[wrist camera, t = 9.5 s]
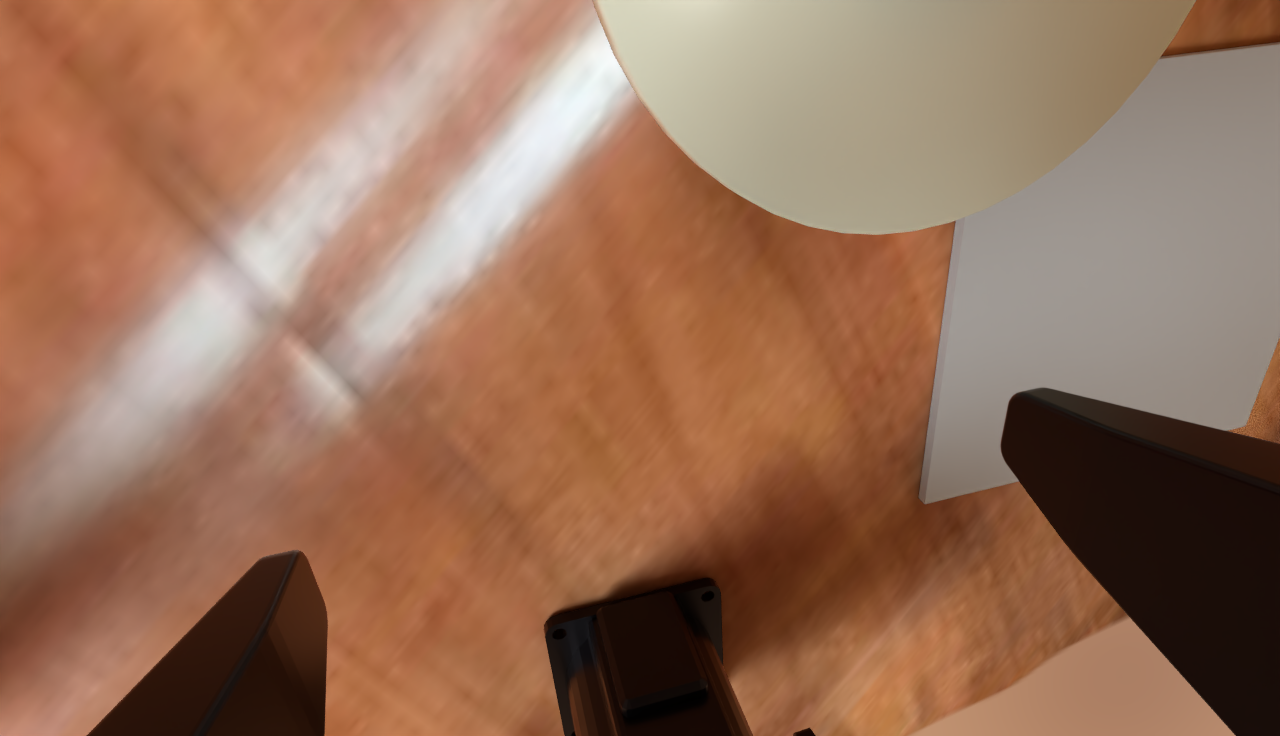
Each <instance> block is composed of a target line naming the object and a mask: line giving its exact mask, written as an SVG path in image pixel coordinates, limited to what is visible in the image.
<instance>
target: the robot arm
mask: <svg viewBox="0 0 1280 736" xmlns="http://www.w3.org/2000/svg"><path fill="white" fill-rule="evenodd" d="M1000 447H1001V453H1002V457H1003V459H1004V461H1005V463H1006V464H1007V466H1008V467H1009V468H1010V470H1011V471H1012V472H1013V474H1014V475H1015V476H1016V478H1017V479H1018V480H1019V482H1020V483H1021V484H1022V486H1023V487H1024V488H1025V490H1026V491H1027V493H1028V494H1029V495H1030V497H1031V498H1032V499H1033V501H1034V502H1035V503H1036V505H1037V506H1038V507H1039V509H1040V510H1041V511H1042V513H1043V514H1044V516H1045V517H1046V518H1047V520H1048V521H1049V522H1050V524H1051V525H1052V526H1053V528H1054V529H1055V530H1056V532H1057V533H1058V534H1059V536H1060V537H1061V538H1062V540H1063V541H1064V542H1065V544H1066V545H1067V546H1068V547H1069V549H1070V550H1071V551H1072V553H1073V554H1074V555H1075V556H1076V557H1077V558H1078V560H1079V561H1080V562H1081V563H1082V564H1083V565H1084V567H1085V568H1086V569H1087V570H1088V571H1089V572H1090V573H1091V574H1092V576H1093V577H1094V578H1095V579H1096V580H1097V581H1098V582H1099V583H1100V585H1101V586H1102V587H1103V588H1104V589H1105V590H1106V591H1107V592H1108V593H1109V595H1110V596H1111V597H1112V598H1113V599H1114V600H1115V601H1116V602H1117V604H1118V605H1119V606H1120V607H1121V608H1122V609H1123V610H1124V611H1125V612H1126V614H1127V615H1128V616H1129V617H1130V618H1131V619H1132V620H1133V621H1134V622H1135V624H1136V625H1137V626H1138V627H1139V628H1140V629H1141V630H1142V631H1143V632H1144V634H1145V635H1146V636H1147V637H1148V638H1149V639H1150V640H1151V641H1152V643H1153V644H1154V645H1155V646H1156V647H1157V648H1158V649H1159V650H1160V652H1161V653H1162V654H1163V655H1164V656H1165V657H1166V658H1167V659H1168V660H1169V662H1170V663H1171V664H1172V665H1173V666H1174V667H1175V668H1176V669H1177V671H1179V673H1180V674H1181V675H1182V676H1183V677H1184V678H1185V679H1186V681H1187V682H1188V683H1189V684H1190V685H1191V686H1192V687H1193V688H1194V690H1195V691H1196V692H1197V693H1198V694H1199V695H1200V696H1201V697H1202V699H1203V700H1204V701H1205V702H1206V703H1207V704H1208V705H1209V706H1210V707H1211V709H1213V711H1214V712H1215V713H1216V714H1217V715H1218V716H1219V717H1220V719H1221V720H1222V721H1223V722H1224V723H1225V724H1226V725H1227V726H1228V728H1229V729H1230V730H1231V731H1232V732H1233V733H1234V734H1235V735H1236V736H1280V444H1278V443H1274V442H1270V441H1266V440H1262V439H1258V438H1254V437H1249V436H1245V435H1241V434H1237V433H1233V432H1229V431H1225V430H1220V429H1216V428H1212V427H1208V426H1204V425H1200V424H1196V423H1191V422H1187V421H1183V420H1179V419H1175V418H1171V417H1166V416H1162V415H1158V414H1154V413H1150V412H1146V411H1142V410H1137V409H1133V408H1129V407H1125V406H1121V405H1117V404H1113V403H1108V402H1104V401H1100V400H1096V399H1092V398H1088V397H1084V396H1079V395H1075V394H1071V393H1067V392H1063V391H1059V390H1055V389H1050V388H1045V387H1042V388H1035V389H1030V390H1026V391H1021V392H1018V393H1016V394H1014V395H1013V396H1012V397H1011V399H1010V400H1009V403H1008V407H1007V412H1006V417H1005V422H1004V427H1003V432H1002V438H1001V444H1000ZM707 591H709V592H707ZM705 592H707V593H705ZM704 593H705V594H704ZM327 629H328V621H327V611H326V606H325V603H324V600H323V597H322V595H321V592H320V590H319V587H318V585H317V582H316V579H315V577H314V574H313V572H312V569H311V567H310V564H309V562H308V559H307V557H306V556H305V555H304V553H303V552H301V551H299V550H292V551H288V552H283V553H278V554H274V555H269V556H265V557H263V558H261V559H259V560H258V561H257V562H256V563H255V564H254V565H253V566H252V567H251V568H250V569H249V570H248V571H247V572H246V573H245V574H244V575H243V576H242V577H241V578H240V579H239V580H238V581H237V582H236V583H235V584H234V585H233V586H232V587H231V589H230V590H229V591H228V592H227V593H226V594H225V595H224V596H223V597H222V598H221V599H220V600H219V601H218V602H217V603H216V604H215V605H214V606H213V607H212V608H211V609H210V610H209V611H208V612H207V613H206V614H205V615H204V616H203V617H202V618H201V619H200V620H199V621H198V622H197V623H196V624H195V625H194V626H193V627H192V628H191V629H190V630H189V631H188V633H187V634H186V635H185V636H184V637H183V638H182V639H181V640H180V641H179V642H178V643H177V644H176V645H175V646H174V647H173V648H172V649H171V650H170V651H169V652H168V653H167V654H166V655H165V656H164V657H163V658H162V659H161V660H160V661H159V662H158V663H157V664H156V665H155V666H154V667H153V668H152V669H151V670H150V671H149V672H148V673H147V674H146V675H145V676H144V678H143V679H142V680H141V681H140V682H139V683H138V684H137V685H136V686H135V687H134V688H133V689H132V690H131V691H130V692H129V693H128V694H127V695H126V696H125V697H124V698H123V699H122V700H121V701H120V702H119V703H118V704H117V705H116V706H115V707H114V708H113V709H112V710H111V711H110V712H109V713H108V714H107V715H106V716H105V717H104V718H103V719H102V720H101V722H100V723H99V724H98V725H97V726H96V727H95V728H94V729H93V730H92V731H91V732H90V733H89V734H88V735H87V736H324V734H325V700H326V664H327ZM557 629H561V630H559V631H555V630H557ZM544 633H545V638H546V643H547V649H548V654H549V659H550V664H551V669H552V674H553V679H554V684H555V689H556V694H557V699H558V704H559V709H560V714H561V719H562V725H563V730H564V735H565V736H753V734H752V732H751V730H750V727H749V725H748V723H747V720H746V718H745V716H744V714H743V711H742V709H741V707H740V704H739V702H738V700H737V697H736V695H735V693H734V691H733V688H732V686H731V684H730V681H729V679H728V677H727V674H726V672H725V670H724V668H723V648H722V616H721V592H720V589H719V587H718V585H717V583H716V581H714V580H713V579H710V578H706V579H700V580H696V581H692V582H688V583H684V584H680V585H676V586H672V587H668V588H664V589H660V590H656V591H652V592H648V593H644V594H640V595H636V596H632V597H628V598H624V599H620V600H616V601H612V602H608V603H604V604H600V605H596V606H592V607H588V608H584V609H580V610H576V611H572V612H568V613H564V614H560V615H556V616H554V617H551V618H550V619H548V620H547V621H546V623H545V624H544ZM793 736H815V734H814V733H813V731H812V730H811V729H810V728H807V729H804V730H801V731H798V732H795V733H794V734H793Z"/></svg>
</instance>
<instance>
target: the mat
mask: <svg viewBox="0 0 1280 736" xmlns="http://www.w3.org/2000/svg"><path fill="white" fill-rule="evenodd" d="M1279 338H1280V42H1276V43H1268V44H1260V45H1252V46H1243V47H1235V48H1227V49H1219V50H1211V51H1203V52H1195V53H1186V54H1178V55H1170V56H1162V57H1160V58H1159V60H1158V61H1157V63H1156V64H1155V65H1154V67H1153V68H1152V70H1151V71H1150V72H1149V74H1148V75H1147V77H1146V78H1145V79H1144V80H1143V81H1142V83H1141V84H1140V85H1139V86H1138V87H1137V88H1136V90H1135V91H1134V92H1133V93H1132V94H1131V96H1130V97H1129V98H1128V99H1127V100H1126V101H1125V103H1124V104H1123V105H1122V106H1121V107H1120V109H1119V110H1118V111H1117V112H1116V113H1115V114H1114V115H1113V116H1112V117H1111V118H1110V119H1109V120H1108V121H1107V122H1106V123H1105V124H1104V125H1103V126H1102V127H1101V128H1100V129H1099V130H1098V131H1097V132H1096V133H1095V134H1094V135H1093V136H1092V137H1091V138H1090V139H1089V140H1088V141H1087V142H1086V143H1085V144H1083V145H1082V146H1081V147H1080V148H1078V149H1077V150H1076V151H1075V152H1074V153H1072V154H1071V155H1070V156H1069V157H1067V158H1066V159H1065V160H1064V161H1063V162H1061V163H1060V164H1059V165H1058V166H1056V167H1055V168H1054V169H1053V170H1051V171H1050V172H1048V173H1047V174H1045V175H1044V176H1042V177H1041V178H1039V179H1038V180H1036V181H1035V182H1033V183H1032V184H1030V185H1029V186H1027V187H1026V188H1024V189H1023V190H1021V191H1020V192H1018V193H1016V194H1014V195H1012V196H1010V197H1008V198H1006V199H1004V200H1002V201H1000V202H998V203H996V204H994V205H993V206H991V207H989V208H987V209H985V210H982V211H979V212H977V213H974V214H971V215H969V216H966V217H964V218H961V219H958V220H956V224H955V231H954V238H953V246H952V253H951V261H950V268H949V275H948V283H947V290H946V298H945V305H944V313H943V320H942V327H941V335H940V342H939V350H938V357H937V364H936V372H935V379H934V387H933V394H932V401H931V409H930V416H929V424H928V431H927V438H926V446H925V453H924V461H923V468H922V475H921V483H920V490H919V499H920V500H921V501H922V502H923V503H924V504H928V503H932V502H936V501H941V500H945V499H949V498H953V497H957V496H961V495H965V494H969V493H973V492H977V491H981V490H986V489H990V488H994V487H998V486H1002V485H1006V484H1010V483H1014V482H1018V481H1019V480H1018V479H1017V478H1016V476H1015V475H1014V474H1013V472H1012V471H1011V470H1010V468H1009V467H1008V466H1007V464H1006V463H1005V461H1004V459H1003V457H1002V453H1001V447H1000V444H1001V438H1002V432H1003V427H1004V422H1005V417H1006V412H1007V407H1008V403H1009V400H1010V399H1011V397H1012V396H1013V395H1014V394H1016V393H1018V392H1021V391H1026V390H1030V389H1035V388H1042V387H1045V388H1050V389H1055V390H1059V391H1063V392H1067V393H1071V394H1075V395H1079V396H1084V397H1088V398H1092V399H1096V400H1100V401H1104V402H1108V403H1113V404H1117V405H1121V406H1125V407H1129V408H1133V409H1137V410H1142V411H1146V412H1150V413H1154V414H1158V415H1162V416H1166V417H1171V418H1175V419H1179V420H1183V421H1187V422H1191V423H1196V424H1200V425H1204V426H1208V427H1212V428H1216V429H1220V430H1225V431H1227V430H1231V429H1236V428H1240V427H1244V426H1246V424H1247V421H1248V418H1249V416H1250V413H1251V411H1252V408H1253V405H1254V403H1255V400H1256V397H1257V395H1258V392H1259V390H1260V387H1261V384H1262V382H1263V379H1264V377H1265V374H1266V371H1267V369H1268V366H1269V364H1270V361H1271V358H1272V356H1273V353H1274V351H1275V348H1276V345H1277V343H1278V340H1279Z"/></svg>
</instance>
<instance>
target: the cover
mask: <svg viewBox="0 0 1280 736" xmlns="http://www.w3.org/2000/svg"><path fill="white" fill-rule="evenodd" d="M1195 2H1196V0H593V4H594V7H595V9H596V12H597V14H598V17H599V19H600V22H601V24H602V27H603V29H604V32H605V34H606V36H607V39H608V41H609V44H610V46H611V49H612V51H613V54H614V56H615V57H616V59H617V61H618V63H619V65H620V66H621V68H622V70H623V72H624V74H625V75H626V77H627V79H628V81H629V83H630V84H631V86H632V88H633V90H634V91H635V93H636V95H637V97H638V98H639V99H640V101H641V102H642V104H643V105H644V106H645V108H646V109H647V110H648V112H649V113H650V114H651V116H652V117H653V118H654V120H655V121H656V122H657V124H658V125H659V126H660V128H661V129H662V130H663V132H664V133H665V134H666V135H667V136H668V137H669V138H670V139H671V140H672V141H673V142H674V143H675V144H676V145H677V146H678V147H679V148H680V149H681V150H682V151H683V152H684V153H685V154H686V155H687V156H688V157H689V158H690V159H691V160H692V161H693V162H694V163H695V164H696V165H697V166H699V167H700V168H701V169H703V170H704V171H705V172H707V173H708V174H709V175H711V176H712V177H713V178H715V179H716V180H717V181H719V182H720V183H721V184H722V185H724V186H725V187H727V188H728V189H730V190H732V191H733V192H735V193H736V194H738V195H740V196H741V197H743V198H745V199H747V200H749V201H751V202H752V203H754V204H756V205H758V206H760V207H762V208H763V209H765V210H767V211H769V212H771V213H772V214H775V215H778V216H781V217H783V218H786V219H789V220H792V221H795V222H797V223H800V224H803V225H806V226H809V227H814V228H819V229H824V230H830V231H835V232H840V233H852V234H874V235H880V234H890V233H901V232H911V231H917V230H921V229H925V228H930V227H934V226H938V225H942V224H946V223H950V222H953V221H956V220H958V219H961V218H964V217H966V216H969V215H971V214H974V213H977V212H979V211H982V210H985V209H987V208H989V207H991V206H993V205H994V204H996V203H998V202H1000V201H1002V200H1004V199H1006V198H1008V197H1010V196H1012V195H1014V194H1016V193H1018V192H1020V191H1021V190H1023V189H1024V188H1026V187H1027V186H1029V185H1030V184H1032V183H1033V182H1035V181H1036V180H1038V179H1039V178H1041V177H1042V176H1044V175H1045V174H1047V173H1048V172H1050V171H1051V170H1053V169H1054V168H1055V167H1056V166H1058V165H1059V164H1060V163H1061V162H1063V161H1064V160H1065V159H1066V158H1067V157H1069V156H1070V155H1071V154H1072V153H1074V152H1075V151H1076V150H1077V149H1078V148H1080V147H1081V146H1082V145H1083V144H1085V143H1086V142H1087V141H1088V140H1089V139H1090V138H1091V137H1092V136H1093V135H1094V134H1095V133H1096V132H1097V131H1098V130H1099V129H1100V128H1101V127H1102V126H1103V125H1104V124H1105V123H1106V122H1107V121H1108V120H1109V119H1110V118H1111V117H1112V116H1113V115H1114V114H1115V113H1116V112H1117V111H1118V110H1119V109H1120V107H1121V106H1122V105H1123V104H1124V103H1125V101H1126V100H1127V99H1128V98H1129V97H1130V96H1131V94H1132V93H1133V92H1134V91H1135V90H1136V88H1137V87H1138V86H1139V85H1140V84H1141V83H1142V81H1143V80H1144V79H1145V78H1146V77H1147V75H1148V74H1149V72H1150V71H1151V70H1152V68H1153V67H1154V65H1155V64H1156V63H1157V61H1158V60H1159V58H1160V57H1161V55H1162V54H1163V53H1164V51H1165V50H1166V48H1167V47H1168V46H1169V44H1170V43H1171V41H1172V40H1173V39H1174V37H1175V35H1176V34H1177V32H1178V30H1179V29H1180V27H1181V25H1182V24H1183V22H1184V20H1185V19H1186V17H1187V15H1188V14H1189V12H1190V10H1191V9H1192V7H1193V5H1194V3H1195Z"/></svg>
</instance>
